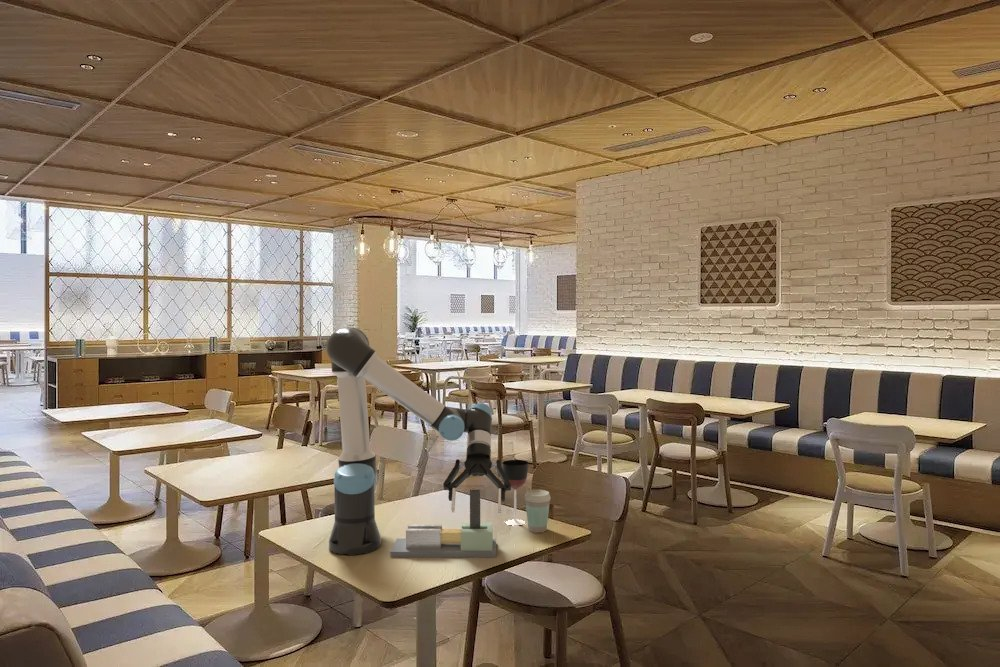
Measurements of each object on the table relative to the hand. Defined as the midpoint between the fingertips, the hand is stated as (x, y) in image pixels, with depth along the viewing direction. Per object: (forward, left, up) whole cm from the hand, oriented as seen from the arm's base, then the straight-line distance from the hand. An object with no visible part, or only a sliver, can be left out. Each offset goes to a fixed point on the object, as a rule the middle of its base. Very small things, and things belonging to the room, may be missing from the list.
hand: (476, 510), depth 194 cm
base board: (-9, 0, -12) cm, 15 cm away
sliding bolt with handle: (-4, 0, -9) cm, 10 cm away
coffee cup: (+19, +18, -12) cm, 29 cm away
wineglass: (+12, +25, -12) cm, 30 cm away
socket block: (0, 0, -10) cm, 10 cm away
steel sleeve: (-15, 0, -10) cm, 18 cm away
